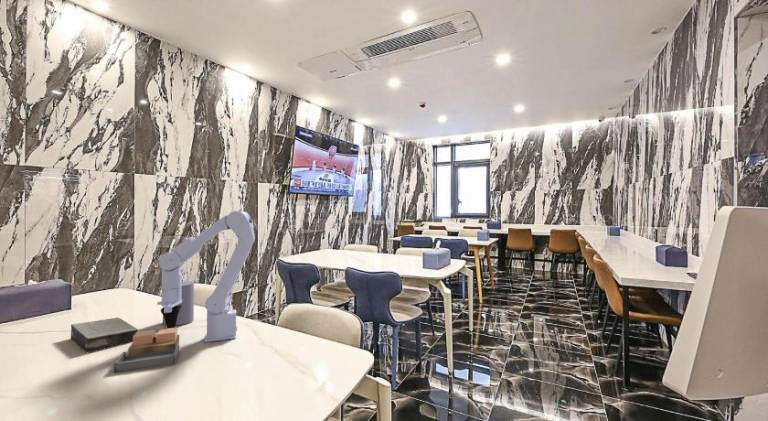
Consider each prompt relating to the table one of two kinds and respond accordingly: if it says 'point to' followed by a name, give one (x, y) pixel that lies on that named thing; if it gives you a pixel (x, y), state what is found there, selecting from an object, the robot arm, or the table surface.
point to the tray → (146, 360)
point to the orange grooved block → (153, 347)
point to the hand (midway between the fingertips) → (171, 328)
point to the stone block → (102, 334)
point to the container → (185, 304)
